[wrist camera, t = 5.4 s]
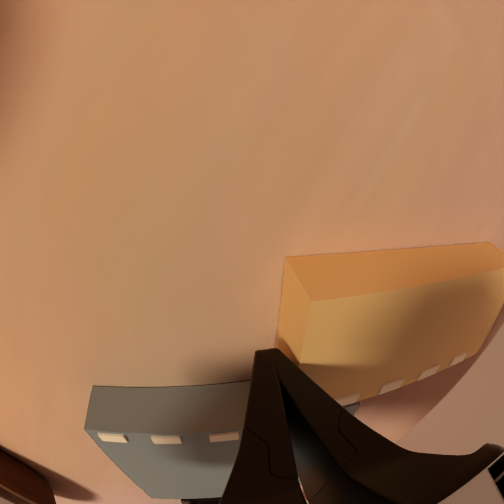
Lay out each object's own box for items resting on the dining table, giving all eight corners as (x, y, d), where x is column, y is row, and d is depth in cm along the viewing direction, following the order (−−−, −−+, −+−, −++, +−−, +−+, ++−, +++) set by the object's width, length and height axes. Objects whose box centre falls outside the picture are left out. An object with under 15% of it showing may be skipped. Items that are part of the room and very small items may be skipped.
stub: (454, 328, 14) (478, 354, 12) (272, 374, 12) (287, 420, 10) (489, 242, 12) (521, 265, 9) (285, 257, 10) (312, 304, 7)
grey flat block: (302, 456, 19) (311, 483, 16) (151, 471, 16) (152, 499, 14) (339, 365, 13) (360, 405, 11) (92, 385, 11) (83, 431, 9)
